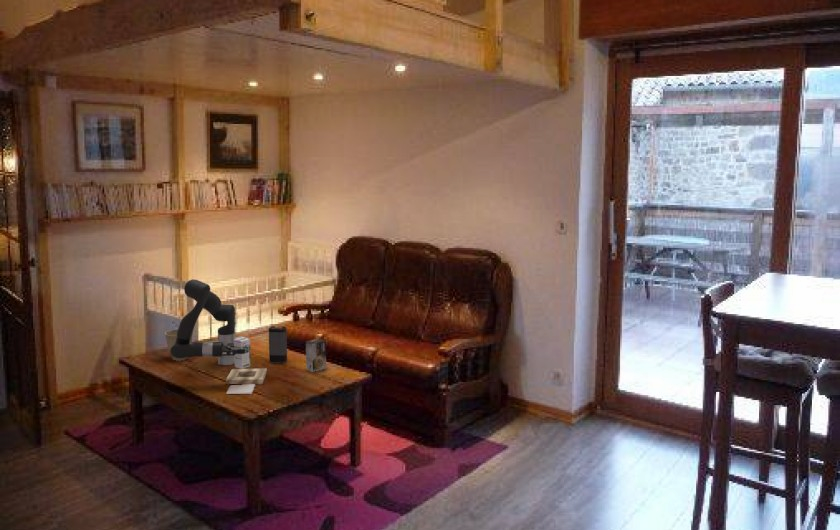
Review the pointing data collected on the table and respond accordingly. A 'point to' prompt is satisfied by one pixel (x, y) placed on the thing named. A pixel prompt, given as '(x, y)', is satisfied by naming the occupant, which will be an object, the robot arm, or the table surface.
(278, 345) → the electronic device
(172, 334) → the plant pot
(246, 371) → the cream square board
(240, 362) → the syrup box
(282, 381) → the table surface
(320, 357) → the coffee box
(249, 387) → the ceramic tile
